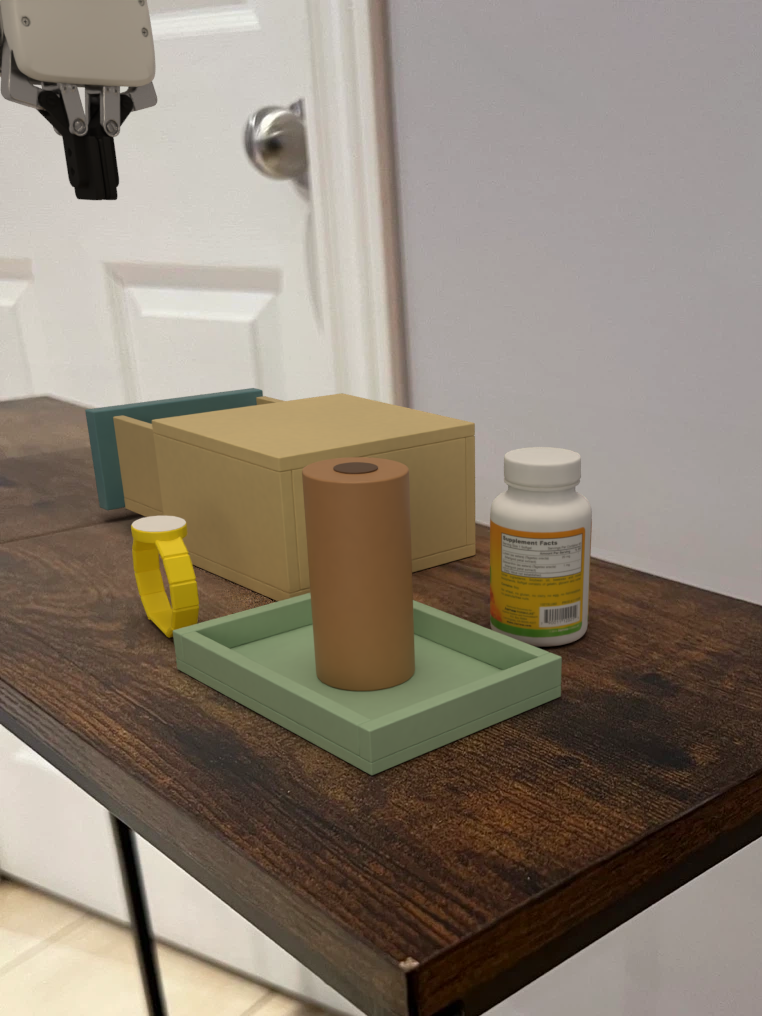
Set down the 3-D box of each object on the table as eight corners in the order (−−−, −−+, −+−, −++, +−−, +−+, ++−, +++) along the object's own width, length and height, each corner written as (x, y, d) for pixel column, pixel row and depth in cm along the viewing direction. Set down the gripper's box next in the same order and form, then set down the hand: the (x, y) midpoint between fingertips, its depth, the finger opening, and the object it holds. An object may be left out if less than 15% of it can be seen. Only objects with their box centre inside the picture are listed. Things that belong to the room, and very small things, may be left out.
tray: (176, 669, 58) (171, 629, 57) (360, 613, 65) (359, 578, 64) (371, 776, 48) (369, 730, 47) (561, 696, 55) (562, 656, 55)
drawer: (71, 496, 83) (56, 400, 80) (231, 467, 92) (223, 380, 89) (193, 546, 73) (181, 439, 70) (361, 509, 82) (356, 411, 79)
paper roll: (305, 689, 54) (289, 478, 50) (329, 651, 59) (316, 453, 54) (405, 694, 54) (398, 482, 50) (422, 655, 58) (417, 457, 54)
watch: (127, 617, 64) (112, 512, 61) (175, 607, 65) (162, 505, 63) (165, 650, 60) (151, 539, 57) (216, 640, 61) (205, 531, 59)
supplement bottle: (513, 608, 66) (515, 439, 62) (601, 622, 65) (609, 449, 60) (473, 639, 62) (472, 459, 58) (566, 655, 60) (572, 471, 56)
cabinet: (167, 554, 74) (150, 419, 71) (348, 513, 84) (342, 393, 80) (290, 607, 66) (278, 457, 62) (475, 555, 75) (475, 422, 72)
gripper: (131, -89, 81) (165, 197, 89) (-93, -126, 71) (-32, 199, 79) (187, -103, 76) (217, 200, 84) (-44, -145, 66) (15, 202, 74)
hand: (96, 198), depth 82 cm, fingers closed
